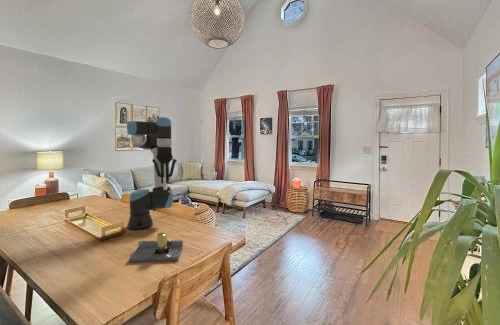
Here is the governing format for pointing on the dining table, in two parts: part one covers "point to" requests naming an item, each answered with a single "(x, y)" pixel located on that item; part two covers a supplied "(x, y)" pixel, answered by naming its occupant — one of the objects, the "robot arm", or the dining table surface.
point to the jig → (149, 252)
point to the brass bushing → (162, 243)
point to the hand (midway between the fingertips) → (165, 189)
